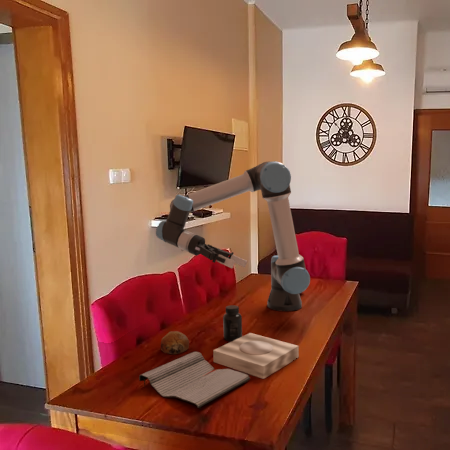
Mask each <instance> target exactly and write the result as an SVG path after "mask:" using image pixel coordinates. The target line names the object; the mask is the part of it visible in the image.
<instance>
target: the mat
mask: <svg viewBox="0 0 450 450" xmlns="http://www.w3.org/2000/svg"><path fill="white" fill-rule="evenodd" d="M138 379H139V382H143V381H144V383H143V384H144V386H146V380H148V382H149V384H150V386H151V387H153V389H154V390H155V391H156V392H157V393H158V394H159V395H160V396H162V397H164V398H167V399H168V398H176V399H179V400H181V401H183V402H188V403H190V404H193V405H195V406H196V407H197V408H198V409H202V407H203V406H205V405H207V404H208V403H211V402H212V401H214V400H216V399H218V398H219V397H221V396H222V395H224V394H226V393H229V392H230V391H232V390H234V389H236V388H237V387H239V386H241V385H242V384H244V383H248V382H249V380H251V377H250V375H249V374H247V373H245V372H242V371H239V370H235V369H232V368H222V369H221V368H218V369H215V367H213V366H212V365H211V363H210V362H208V361H207V360H206V359H205V358H204V356H203V355H202V353H201V352H199V351H192V352H190V353H188V354H185V355H183V356H181V357H179V358H177V359H174V360H172V361H170V362H167V363H165V364H162V365H159V366H158V367H155V368H152V369H151V370H148V371H146V372H144V373H141V374H139V377H138Z"/></svg>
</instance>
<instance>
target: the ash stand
mask: <svg viewBox="0 0 450 450" xmlns="http://www.w3.org/2000/svg"><path fill="white" fill-rule="evenodd" d="M299 347H300V345H296V344H293V343H290V342H285V341H281V340H279V339H274V338H271V337H267V336H262V335H260V334H255V333H252V332H248V333H247V334H245V335H242V337H240V338H238V339H236V340H234V341H229V342H228V343H225V344H224V345H222V346H219V347H218V348H215V349H213V350H212V351H213V352H212V354H213V355H212V356H213V359H212V360H213V363H214V364H215V363H216V364H219V365H222V366H225V367H228V368H229V369H232V370H235V371H238V372H241V373H244V374H247V375H250V376H253V377H256V378H260V379H264V380H265V379H266V378H267V377H270V376H271V375H272V374H274V373H276V372H278V371H279V370H280V369H282V368H284V367H285V366H287V365H289V364H290V363H292V362H294V361H296V360H297V359H298V358H299V356H300V355H299V352H300V351H299ZM296 358H297V359H296ZM293 360H294V361H293Z"/></svg>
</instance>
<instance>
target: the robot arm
mask: <svg viewBox="0 0 450 450" xmlns="http://www.w3.org/2000/svg"><path fill="white" fill-rule="evenodd" d="M291 180H292V174H291V170H289V168H288V167H287V165H285V164H284V163H282V162H279V161H276V160H275V161H264V162H261V163H259V164H258V165H255V166H254V167H251V168H248V169H247V170H244V172H243V174H240V175H237V176H234V177H231V178H229V179H227V180H223V181H221V182H218V183H215V184H212V185H209V186H208V187H205V188H202V189H199V190H196V191H193V192H190V193H188V194H186V195H182V194H176V195H175V197H174V198H173V199H172V200H171V201H170V203H169V213H168V215H167V219H166V220H162V221H160V222H159V223H158V225H157V227H156V229H155V236H156V238H158V239H159V240H161V241H163V242H165V243H167V244H169V245H171V246H174V247H176V248H178V249H181V252H183V251H185V252H188V253H189V254H192V255H193V256H199V255H201V256H203V257H205V258H206V259H208V260H209V261H211V262H212V263H214V264H215V263H216V262H217V263H219V264H221V265H224V266H226V267H228V268H230V269H233V268H234V265H235V264H236V265H238V266H241V267H243V268H246V266H247V263H248V260H246V259H243V258H242V257H240V256H238V255H235V254H234V252H232V251H231V252H230V251H227V250H224V249H220V248H218V247H215V246H213V245H212V244H207V243H206V239H205V238H204V237H203V236H200V235H198V234H197V233H194V232H191V231H189V230H187V229H185V227H186V223H187V221H188V218H189V216H190V213H193V212H196V211H197V210H201V209H204V208H206V207H210V206H212V205H215V204H218V203H221V202H222V201H226V200H229V199H231V198H233V197H238V196H240V195H243V194H245V193H247V192H248V193H249V192H251V193H255V192H257V191H260V192H261V197H262V199H263V200H264V201H266V202H267V208H268V213H269V219H270V223H271V229H272V233H273V238H274V243H275V249H276V252H277V253H276V254H277V255H273V256H271V260H270V268H271V269H270V274H271V275H270V278H271V279H270V281H271V285H270V287H271V289H270V292H269V296H268V298H267V302H266V303H267V304H266V305H267V308H269V309H270V310H273V311H278V312H292V311H293V312H294V311H297V310H300V309H301V308H302V306H303V305H302V303H303V301H302V299H301V295H300V294H302V293H304V292H305V291H306V290H307V288H308V287H309V286H310V283H311V276H310V273H309V272H308V270H307V269H306V264H305V260H304V257H303V256H302V255H301V254H299V253H300V252H299V247H298V241H297V237H296V232H295V225H294V220H293V216H292V210H291V206H290V199H289V197H290V195H291V194H292V190H291Z"/></svg>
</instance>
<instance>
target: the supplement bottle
mask: <svg viewBox="0 0 450 450" xmlns="http://www.w3.org/2000/svg"><path fill="white" fill-rule="evenodd" d="M239 309H240V307H239V306H238V305H234V304H233V305H232V304H231V305H226V306H225V313H224V314H223V317H222V321H223V323H222V325H223V339H224V340H225V341H227V342H232V341H234V340H236V339H238V338H240V337H242V336H243V319H242V318H243V316H242V315H241V313H240V310H239Z"/></svg>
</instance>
